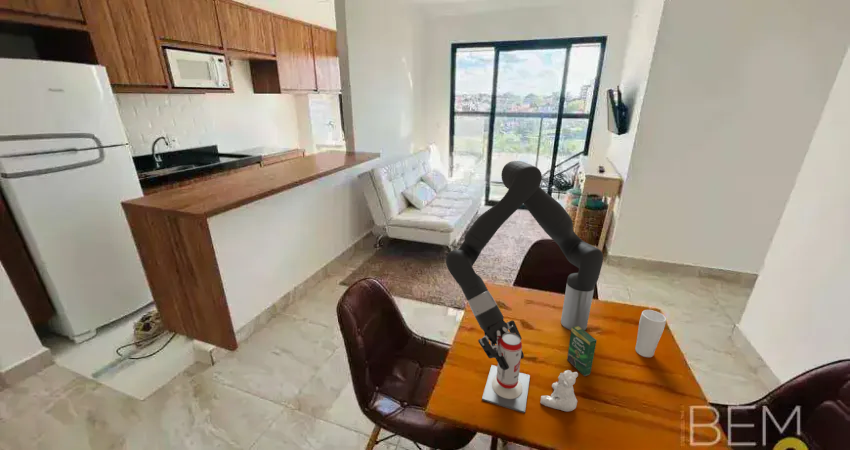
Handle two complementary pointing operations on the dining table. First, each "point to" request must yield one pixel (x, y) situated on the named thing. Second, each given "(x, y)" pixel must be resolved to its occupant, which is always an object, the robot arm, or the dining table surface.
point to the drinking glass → (649, 332)
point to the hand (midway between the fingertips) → (514, 363)
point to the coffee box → (581, 350)
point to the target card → (507, 392)
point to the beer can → (510, 360)
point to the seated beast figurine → (562, 393)
